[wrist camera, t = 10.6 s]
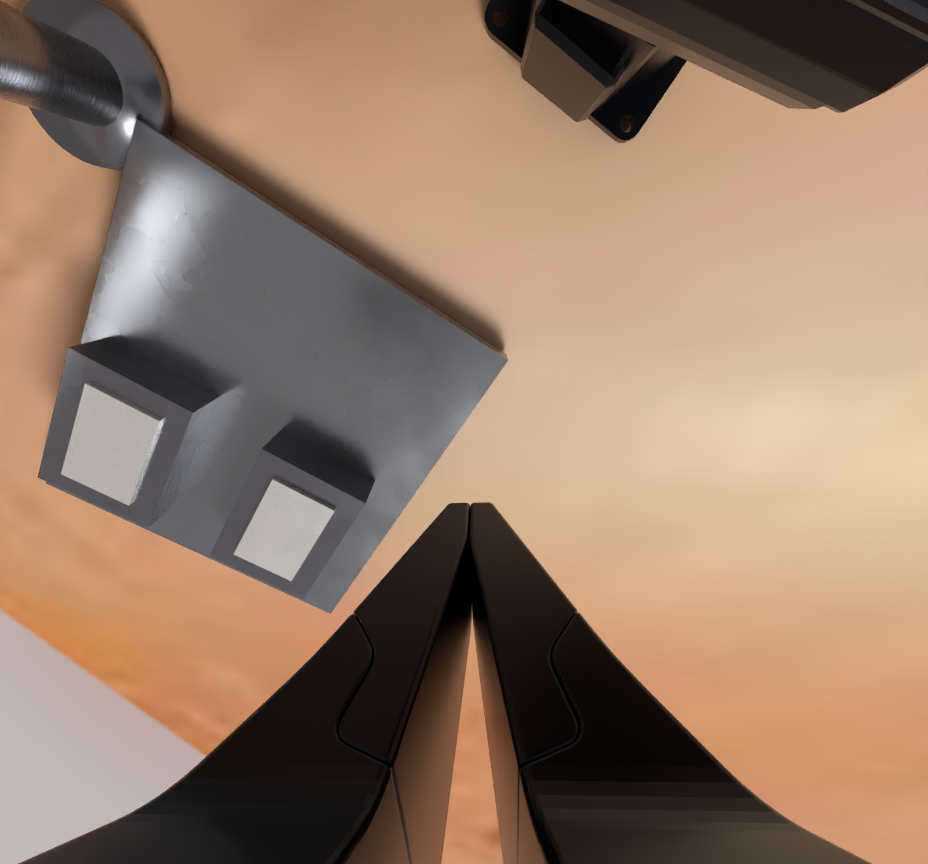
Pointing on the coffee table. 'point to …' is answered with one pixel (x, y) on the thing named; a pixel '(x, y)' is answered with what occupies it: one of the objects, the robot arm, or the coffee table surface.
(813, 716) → the coffee table surface
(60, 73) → the pivot post
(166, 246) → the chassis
